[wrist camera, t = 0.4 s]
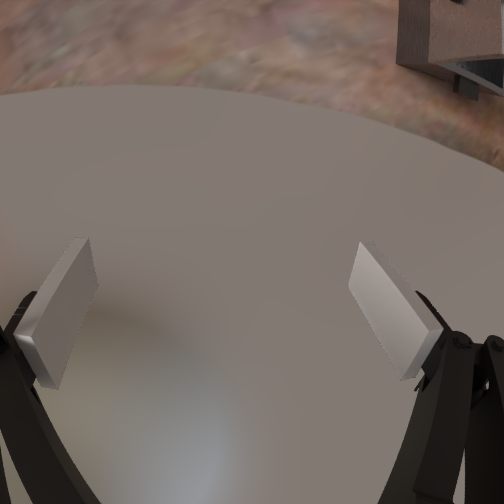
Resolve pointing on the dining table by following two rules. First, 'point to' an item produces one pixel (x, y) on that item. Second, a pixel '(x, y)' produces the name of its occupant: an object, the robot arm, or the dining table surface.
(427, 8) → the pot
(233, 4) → the dining table surface
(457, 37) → the lid
